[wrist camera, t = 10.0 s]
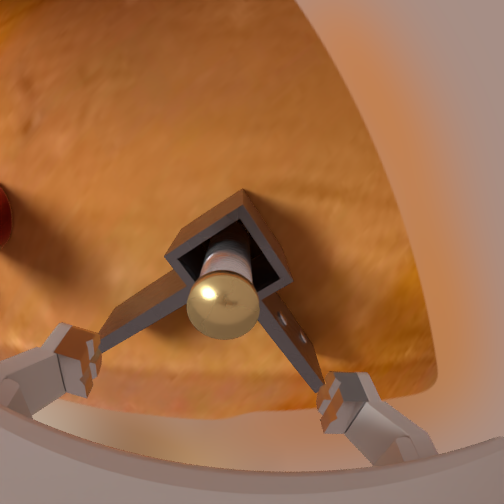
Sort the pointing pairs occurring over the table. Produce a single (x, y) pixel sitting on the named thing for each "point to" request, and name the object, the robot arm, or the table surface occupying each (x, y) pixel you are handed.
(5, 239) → the soda can
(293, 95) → the table surface
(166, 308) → the bracketed square sleeve
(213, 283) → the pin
